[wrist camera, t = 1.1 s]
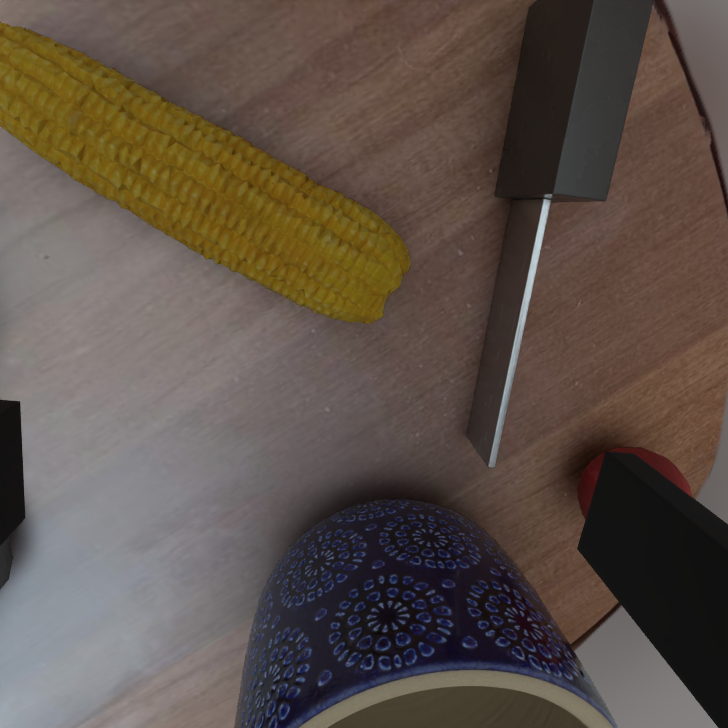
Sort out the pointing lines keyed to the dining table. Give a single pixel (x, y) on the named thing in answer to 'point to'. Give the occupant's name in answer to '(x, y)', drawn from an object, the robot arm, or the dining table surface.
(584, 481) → the onion
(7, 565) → the casserole
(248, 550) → the dining table surface
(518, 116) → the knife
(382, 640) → the planter
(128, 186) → the food
